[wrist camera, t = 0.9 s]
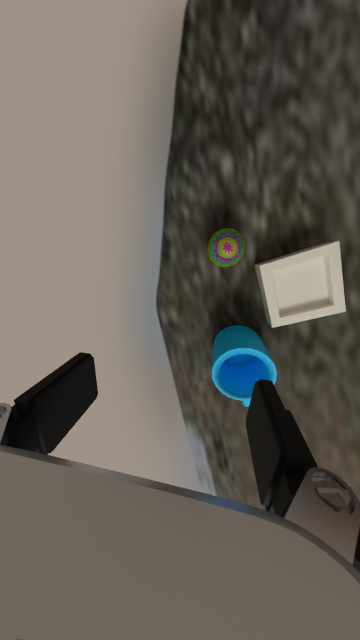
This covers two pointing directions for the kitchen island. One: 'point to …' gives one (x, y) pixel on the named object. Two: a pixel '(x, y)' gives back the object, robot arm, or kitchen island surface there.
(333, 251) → the square tray
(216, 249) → the egg
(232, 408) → the kitchen island surface
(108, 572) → the robot arm
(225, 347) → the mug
